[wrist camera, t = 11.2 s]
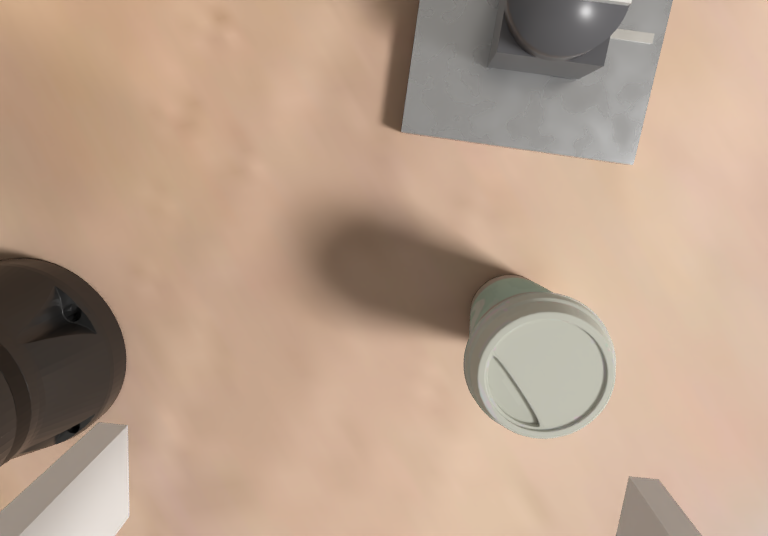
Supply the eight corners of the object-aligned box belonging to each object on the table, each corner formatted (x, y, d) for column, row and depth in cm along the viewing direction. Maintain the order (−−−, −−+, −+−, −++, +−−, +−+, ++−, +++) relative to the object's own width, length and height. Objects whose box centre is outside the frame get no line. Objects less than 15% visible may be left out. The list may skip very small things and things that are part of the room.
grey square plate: (401, 132, 38) (398, 129, 32) (437, -119, 35) (442, -179, 28) (624, 164, 38) (666, 167, 32) (684, -87, 34) (745, -141, 28)
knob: (485, 68, 36) (499, 45, 28) (503, -33, 34) (523, -88, 26) (579, 81, 35) (620, 60, 27) (601, -21, 34) (650, -73, 26)
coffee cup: (452, 257, 40) (467, 302, 28) (568, 256, 40) (632, 301, 28) (451, 364, 42) (466, 447, 30) (562, 364, 41) (620, 449, 30)
